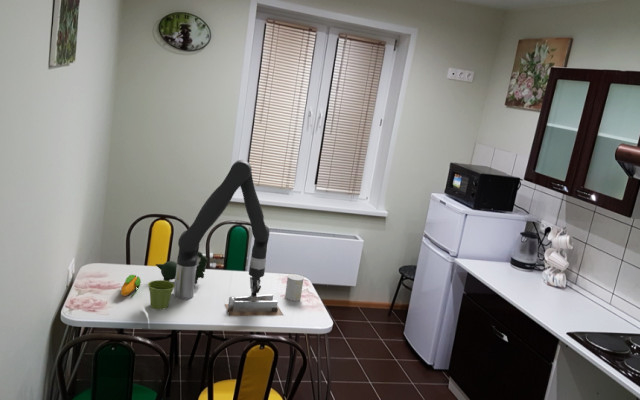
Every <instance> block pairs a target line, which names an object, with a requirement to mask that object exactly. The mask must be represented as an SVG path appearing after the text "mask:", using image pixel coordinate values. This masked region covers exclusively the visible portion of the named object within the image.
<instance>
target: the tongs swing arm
mask: <svg viewBox="0 0 640 400" xmlns="http://www.w3.org/2000/svg"><path fill="white" fill-rule="evenodd" d="M234 297H235V296H234ZM273 297H274V294H273V293H269V294H260V295H259V294H258V295H257V294H256V296H251V295H244V296H236V297H235V298H236V300H235V301H274V300H273Z"/></svg>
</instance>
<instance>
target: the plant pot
mask: <svg viewBox="0 0 640 400" xmlns="http://www.w3.org/2000/svg"><path fill="white" fill-rule="evenodd" d="M147 286H148V290H149V299H150V300H149V301H150V307H151V308H152V309H154V310H165V309H167V308H168V307H169V304H170V300H171V296H172V293H173V292H174V287H175V285H174V282H172V281H164V279H163V280H161V279H160V280H159V279H158V280H151V281H149V282H148V283H147Z"/></svg>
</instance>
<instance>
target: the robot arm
mask: <svg viewBox="0 0 640 400" xmlns="http://www.w3.org/2000/svg"><path fill="white" fill-rule="evenodd" d="M239 188H240V189H241V192H242V196H243V197H242V198H243V202H244V206H245V210H246V213H247V216H248V220H249V222H250V227H251V233H252V236H253V238H254V240H253V245H252V250H251V255H250V260H249V267H248V268H249V269H248V275H249V276H250V277H249V283H250V284H249V286H250V292H251V294H250V296H256V295H257V294H259V293H260V290H261V288H262V286H261V282H262V281H261V278H263V277H264V276H265V271H266V262H267V260H266V258H267V252H268V250H267V248H268V242H269V238H270V228H269V227H268V226H267V225H266V224H265V215H264V212H263V209H262V206H261V203H260V200H259V198H258V197H259V196H258V194H257V191H256V188H255V185H254V179H253V174H252V166H251V164H250V163H249V162H248V160H244V159H238V160H236V161H235V162H234V163H233V164H232V165H231V167H230V170H229V172H228V173H227V175H226V176H225V178H224V179H223V181H222V182H221V184H220V185H219V186H218V187H217V188H216V189H215V190H214V191H213V192H212V193H211V195H210V196H209V197H208V198H207V200H206V201H204V204H203V205H202V206H201V208H200V210H199V212H198V214H197V215H196V217H195V219H194V221H193V223H192V224H191V225H190V227H189V228H187V229H186V230H184V231H183V232H182V233H181V234H180V236H179V239H178V242H177V245H178V254H177V261H176V263H177V268H176V276H175V279H174V282H173V284H174V285H175V287H174V288H173V291H172V293H173V296H174V299H177V300H189V299H193V298H194V294H195V285H196V284H195V276H196V268H197V266H198V265H197V264H198V258H199V257H198V252H200V251H199V250H200V242H201V241H202V239H203V238H204V236H205V235H206V233H207V231H208V230H209V229H210V228H211V227H212V226H213V225H214V224H215V222H217V221H218V220H219V218H220V216H221V215H222V214H223V213H224V211H225V210H226V208H227V207H228V205H229V204H230V202H231V200H232V198H233V197H234V195H235V193H236V192H237V190H239Z"/></svg>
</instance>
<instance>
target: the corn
mask: <svg viewBox="0 0 640 400" xmlns="http://www.w3.org/2000/svg"><path fill="white" fill-rule="evenodd" d="M141 283H142V281H141V277H140V276H137V275H136V274H130V275H128V276H127V277H126V279H125V281H124V283H123V284H122V285H121V289H120V290H121V291H120V294H121V295H122V296H123V297H124V296H125V297H126V296H129V295H130V294H133V293H134V292H135V290H136V287H137V288H138V289H137V290H136V292H137V291H138V290H139V289H140V286H141ZM136 292H135V293H134V294H133V295H132V296H134V295H135V294H136Z"/></svg>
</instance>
